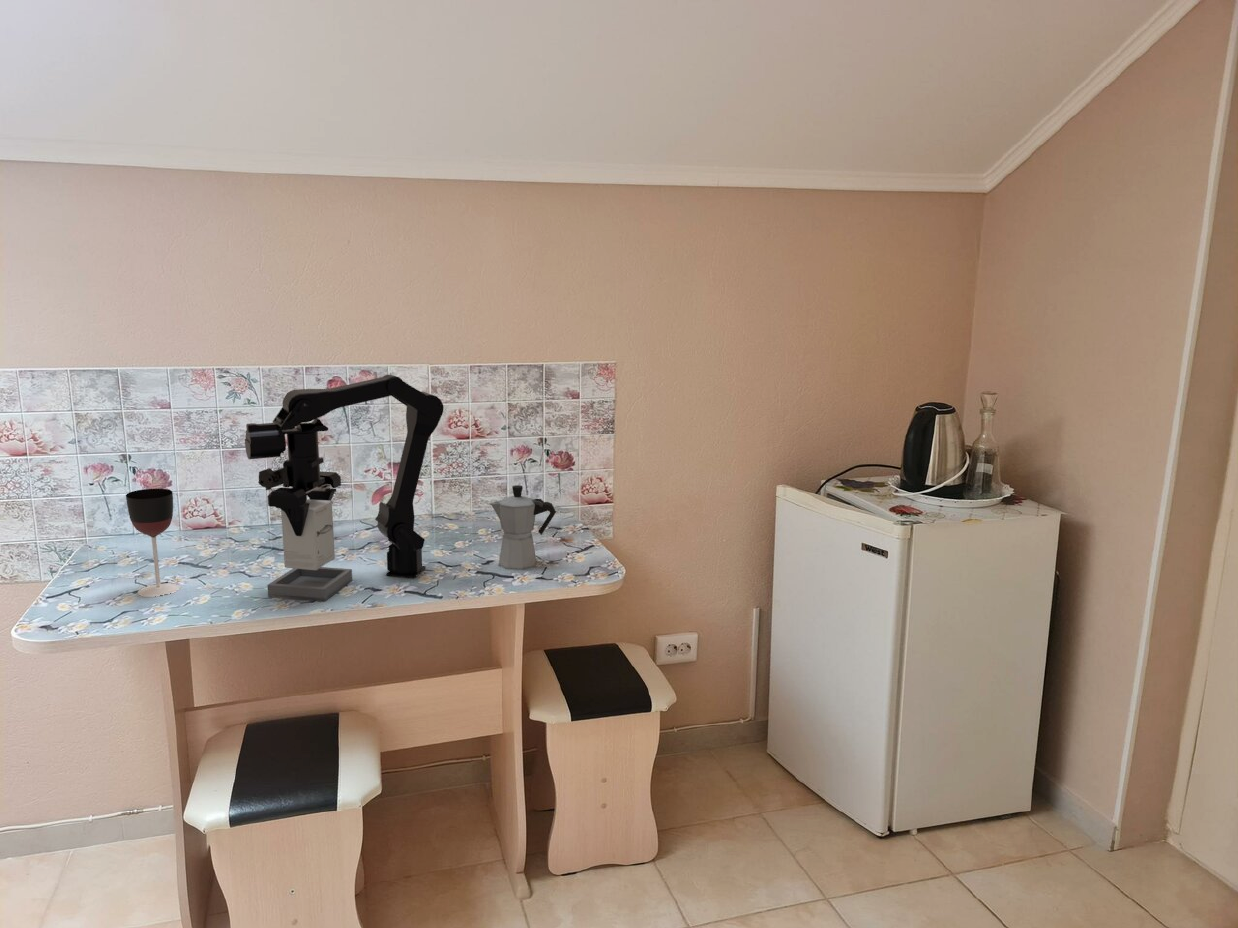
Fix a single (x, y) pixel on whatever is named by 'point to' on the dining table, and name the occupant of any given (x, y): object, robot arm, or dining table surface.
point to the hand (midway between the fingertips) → (308, 530)
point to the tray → (310, 583)
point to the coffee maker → (519, 528)
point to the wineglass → (152, 527)
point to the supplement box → (310, 538)
